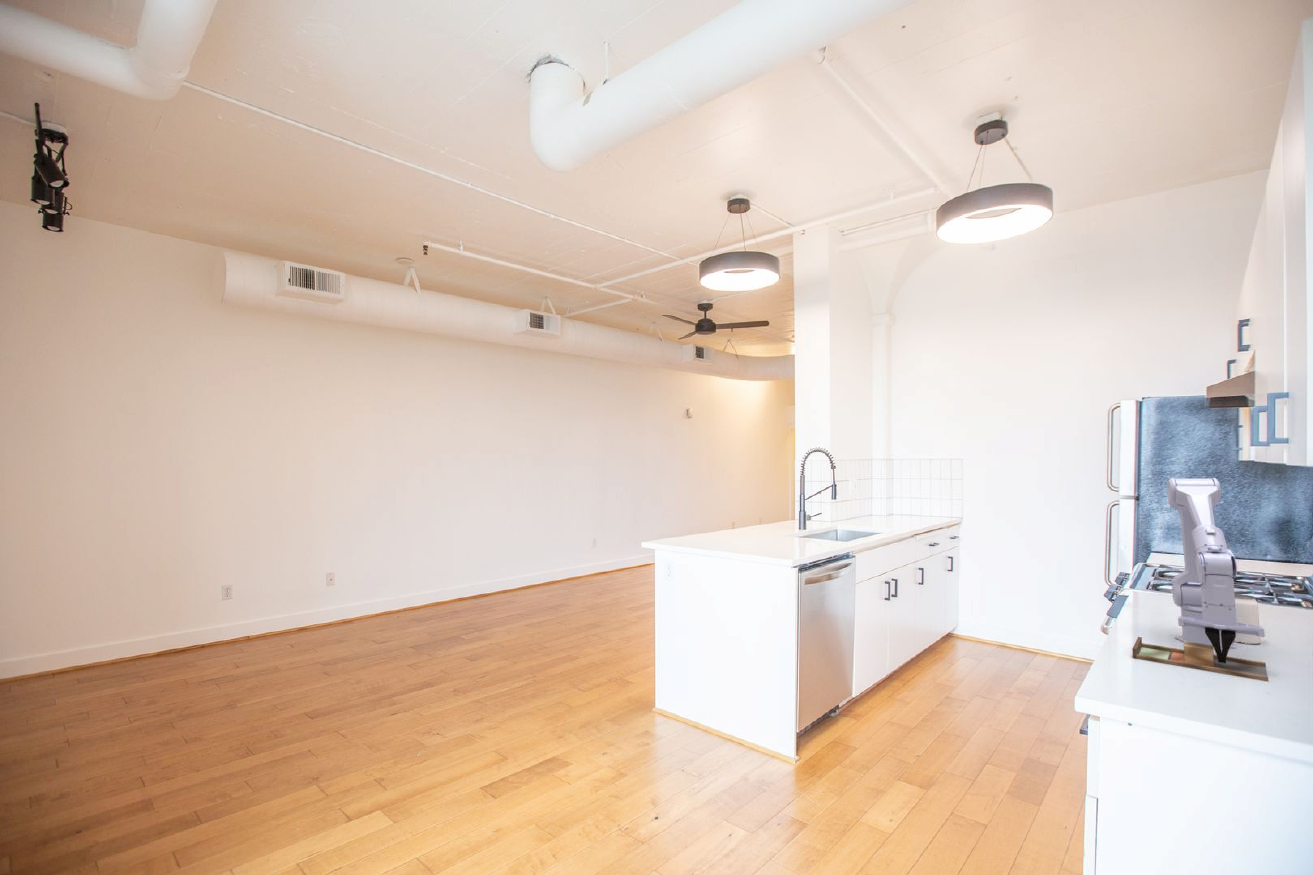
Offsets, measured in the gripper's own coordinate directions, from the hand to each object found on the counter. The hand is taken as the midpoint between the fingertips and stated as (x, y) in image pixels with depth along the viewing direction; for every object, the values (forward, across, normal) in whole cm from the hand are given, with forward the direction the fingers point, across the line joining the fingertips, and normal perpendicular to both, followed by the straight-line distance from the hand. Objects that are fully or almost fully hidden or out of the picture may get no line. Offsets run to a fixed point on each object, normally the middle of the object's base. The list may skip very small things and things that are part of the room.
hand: (1222, 661), depth 136 cm
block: (+1, -4, 0) cm, 4 cm away
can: (+1, +4, +30) cm, 30 cm away
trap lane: (+1, -4, 0) cm, 4 cm away
